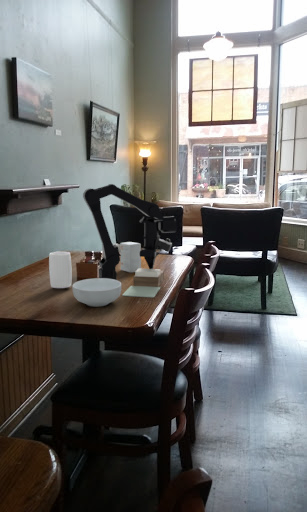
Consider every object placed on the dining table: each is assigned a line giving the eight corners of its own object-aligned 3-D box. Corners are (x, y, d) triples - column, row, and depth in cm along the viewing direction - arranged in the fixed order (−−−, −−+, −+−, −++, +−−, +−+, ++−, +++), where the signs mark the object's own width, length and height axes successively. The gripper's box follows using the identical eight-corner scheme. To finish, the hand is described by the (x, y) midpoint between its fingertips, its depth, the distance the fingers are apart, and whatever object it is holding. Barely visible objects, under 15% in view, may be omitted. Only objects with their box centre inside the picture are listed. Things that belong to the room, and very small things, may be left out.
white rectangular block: (157, 277, 168) (157, 272, 168) (135, 276, 170) (135, 271, 169) (160, 273, 174) (160, 269, 173) (138, 273, 176) (138, 268, 175)
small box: (141, 271, 198) (141, 243, 196) (130, 272, 194) (130, 244, 192) (131, 268, 205) (130, 241, 202) (120, 270, 201) (119, 242, 198)
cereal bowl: (63, 303, 147) (62, 283, 146) (101, 294, 159) (101, 275, 158) (92, 314, 135) (92, 292, 134) (131, 303, 147) (131, 283, 146)
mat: (153, 297, 154) (153, 296, 154) (121, 295, 156) (121, 295, 156) (160, 287, 168) (160, 287, 168) (131, 286, 170) (131, 285, 170)
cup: (50, 292, 162) (48, 255, 159) (49, 286, 170) (48, 251, 167) (73, 290, 164) (71, 254, 162) (71, 285, 172) (70, 250, 170)
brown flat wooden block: (158, 287, 168) (158, 277, 167) (133, 286, 170) (133, 276, 169) (164, 279, 181) (164, 270, 181) (141, 278, 183) (141, 269, 182)
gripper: (167, 236, 166) (166, 275, 169) (173, 231, 184) (173, 266, 187) (139, 236, 168) (139, 274, 171) (148, 230, 186) (148, 265, 189)
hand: (151, 270), depth 179 cm, fingers closed
